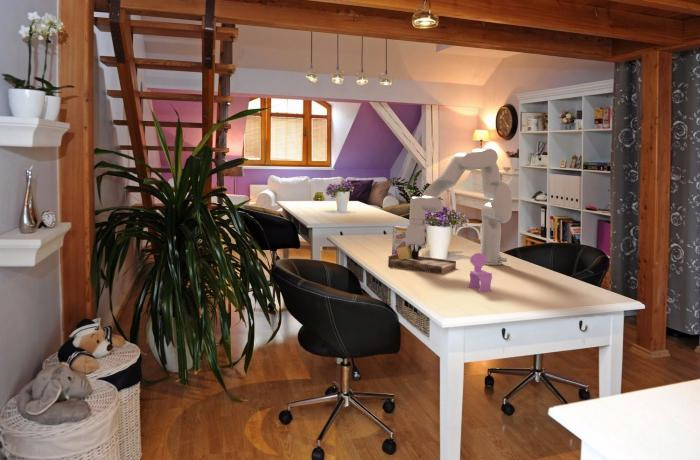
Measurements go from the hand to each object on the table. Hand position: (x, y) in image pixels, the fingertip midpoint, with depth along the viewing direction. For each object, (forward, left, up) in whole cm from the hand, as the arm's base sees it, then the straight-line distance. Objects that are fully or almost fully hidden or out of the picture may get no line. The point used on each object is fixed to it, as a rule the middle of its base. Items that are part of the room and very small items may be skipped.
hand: (415, 258), depth 298 cm
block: (+4, 0, 0) cm, 4 cm away
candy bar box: (+15, -17, -4) cm, 23 cm away
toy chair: (-43, +27, -4) cm, 51 cm away
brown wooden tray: (-4, 0, -4) cm, 5 cm away
